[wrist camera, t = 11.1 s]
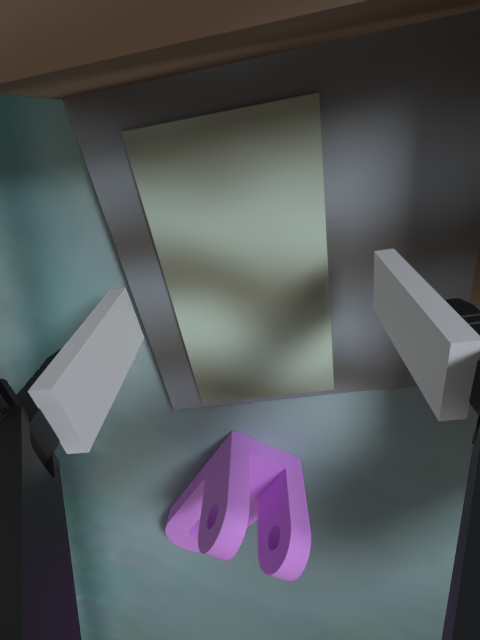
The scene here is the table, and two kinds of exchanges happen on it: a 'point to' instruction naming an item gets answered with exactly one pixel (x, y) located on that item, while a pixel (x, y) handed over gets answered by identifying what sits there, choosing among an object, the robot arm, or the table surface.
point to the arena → (268, 172)
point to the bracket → (246, 507)
